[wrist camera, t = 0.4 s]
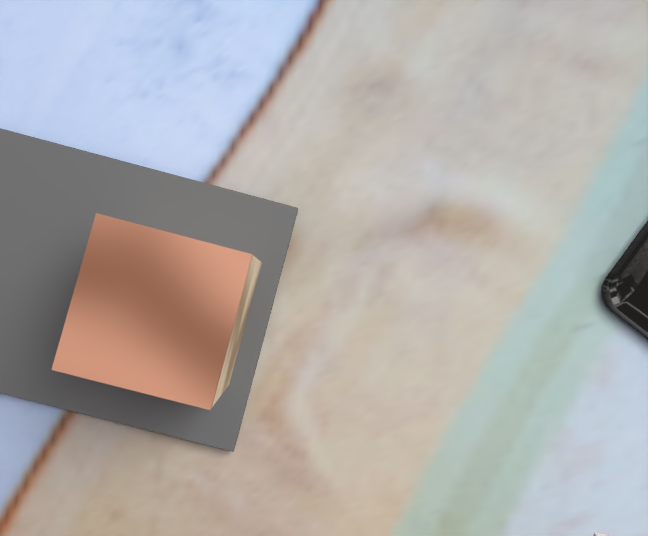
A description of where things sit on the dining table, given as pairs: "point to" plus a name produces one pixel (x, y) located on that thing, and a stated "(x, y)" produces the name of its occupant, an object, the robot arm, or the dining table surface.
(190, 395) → the cube
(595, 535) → the robot arm
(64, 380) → the mat
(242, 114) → the dining table surface
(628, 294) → the phone
